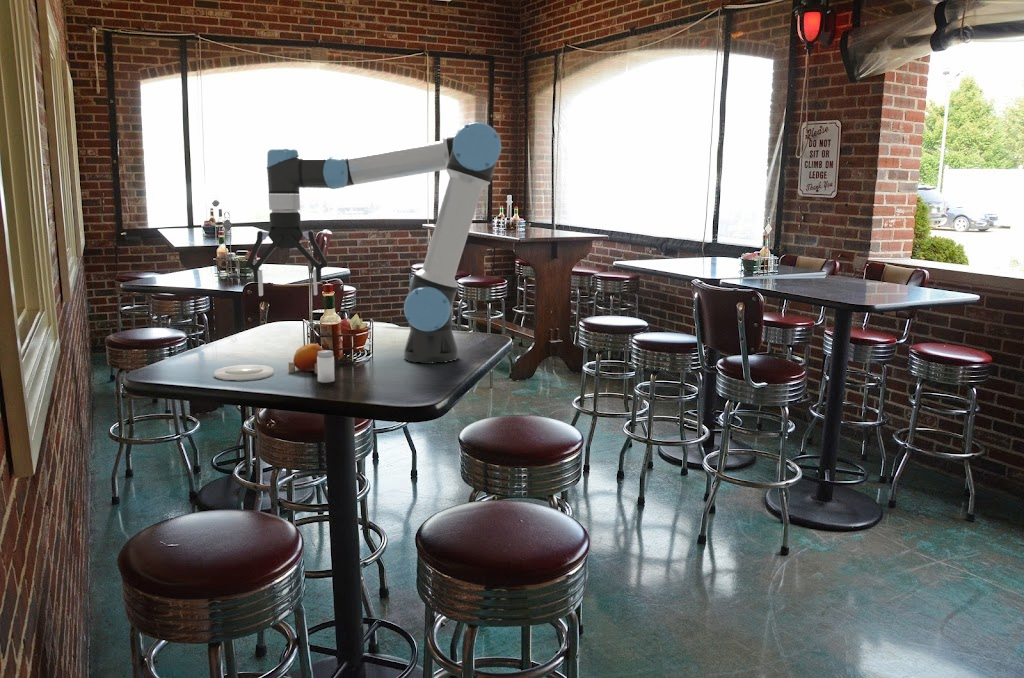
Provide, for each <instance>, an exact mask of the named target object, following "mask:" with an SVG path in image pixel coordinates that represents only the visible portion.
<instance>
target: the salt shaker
mask: <svg viewBox="0 0 1024 678" xmlns="http://www.w3.org/2000/svg"><path fill="white" fill-rule="evenodd" d="M317 372H318V374H317V382H319V383H332V382H334V381H335V356H334V351H333V350H327V349H325V350H324V349H323V350H322V351H318V356H317Z"/></svg>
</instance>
